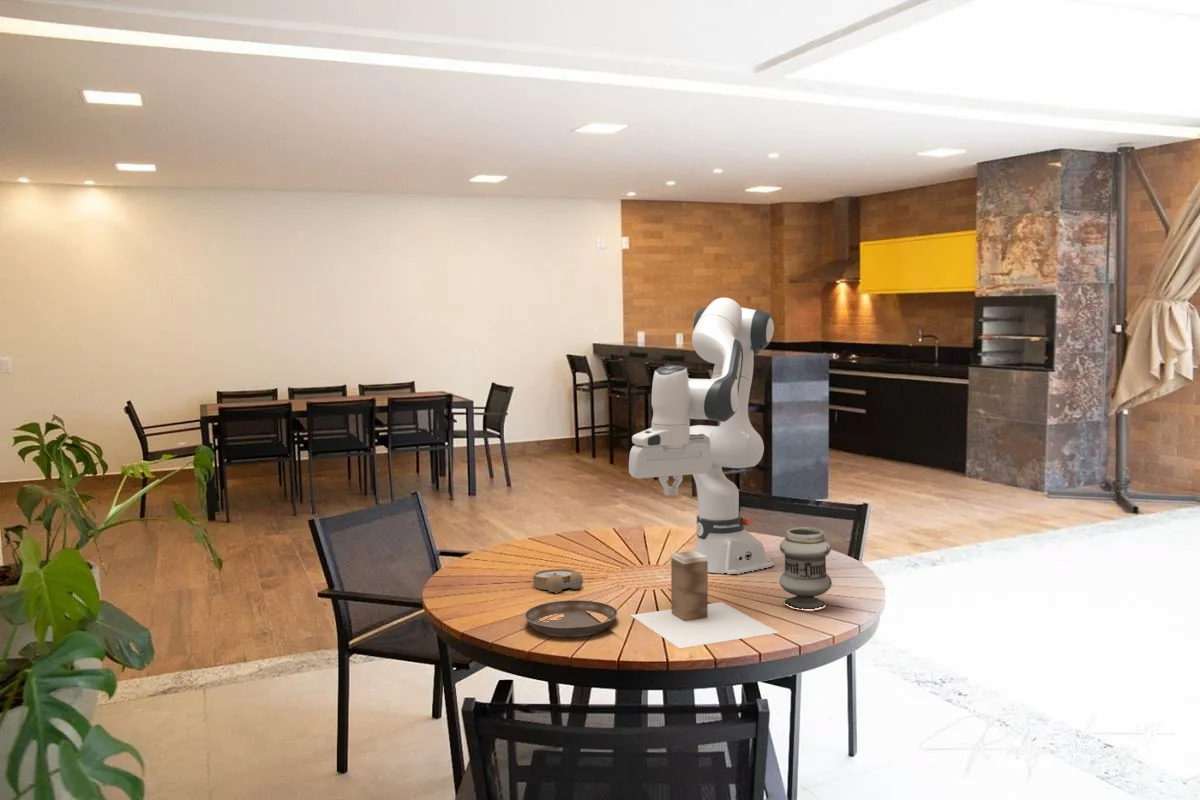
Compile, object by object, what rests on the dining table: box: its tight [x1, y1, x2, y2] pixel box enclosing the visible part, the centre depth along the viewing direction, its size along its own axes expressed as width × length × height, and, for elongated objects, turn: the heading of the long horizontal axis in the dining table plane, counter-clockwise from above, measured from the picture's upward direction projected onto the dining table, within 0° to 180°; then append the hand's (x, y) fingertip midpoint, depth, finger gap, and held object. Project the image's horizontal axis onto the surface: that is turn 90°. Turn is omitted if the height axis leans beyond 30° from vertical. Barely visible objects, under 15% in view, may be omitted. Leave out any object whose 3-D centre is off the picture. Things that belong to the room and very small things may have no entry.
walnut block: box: [670, 550, 709, 621], centre depth 209 cm, size 6×6×14 cm
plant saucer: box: [524, 599, 618, 638], centre depth 206 cm, size 21×21×3 cm
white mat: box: [629, 601, 780, 650], centre depth 204 cm, size 24×24×1 cm
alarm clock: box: [531, 568, 584, 594], centre depth 236 cm, size 11×5×15 cm
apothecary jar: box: [779, 527, 833, 609], centre depth 219 cm, size 12×12×18 cm
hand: (670, 494), depth 216 cm, fingers closed
